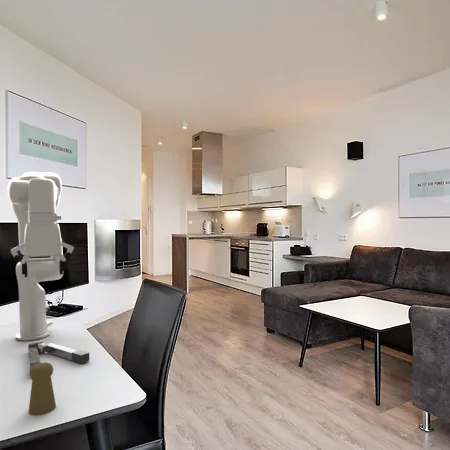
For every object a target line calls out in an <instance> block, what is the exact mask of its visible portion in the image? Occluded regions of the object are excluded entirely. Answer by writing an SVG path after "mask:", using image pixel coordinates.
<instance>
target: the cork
mask: <svg viewBox="0 0 450 450" xmlns="http://www.w3.org/2000/svg"><path fill="white" fill-rule="evenodd" d="M53 372H54V367H53V365H52V363H50V362H47V361H46V362H45V361H43V362H41V363H38V364H36V365H34V366H32V368H31V369H30V368H29V378H30V379H31V380H32V381H31V388H30V395H29V397H30V398H29V403H28V414H30V415H31V416H42V415H45V414H49V413H51V412H52V411H54V410H55V408H56V407H57V405H56V398H55V393H54V387H53V382H52V381H53V380H52V376H53V374H54V373H53Z"/></svg>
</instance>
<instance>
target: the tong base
mask: <svg viewBox="0 0 450 450" xmlns="http://www.w3.org/2000/svg"><path fill="white" fill-rule="evenodd" d="M40 343H44V344H45V342H44V341H39V342H33V343H28V345H27V346H28V350H27V351H28V355H29V357H28V359H29V362H30V363H29V370H30V369H31V368H32V366H34V365H36V364H38V363H42V362H41V359H40V354H38V344H40Z"/></svg>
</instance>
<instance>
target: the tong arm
mask: <svg viewBox="0 0 450 450" xmlns="http://www.w3.org/2000/svg"><path fill="white" fill-rule="evenodd" d="M45 353H48V354H51V355H54V356H57V357H60V358H63V359H66V360H69V361H72V362H76V363H79V364H80V365H83V364H84V363H87V362H90V352H88V351H85V350H82V349H78V350H76V349H73V348H71V347H70V348H69V347H66V346H64V345H60V344H58V343H57V344H56V343H53V342H51V343H45V342H44V343H40V344H38V354H39V355H43V354H45Z"/></svg>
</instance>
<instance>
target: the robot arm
mask: <svg viewBox="0 0 450 450" xmlns="http://www.w3.org/2000/svg"><path fill="white" fill-rule="evenodd" d="M62 190H63V182H62V178H61V177H60V175H59V174H58V173H55V172H46V171H45V172H41V171H28V172H24V173H23V174H22V175H21V176H17V177H16V176H15V177H11V179H10V180H9V181H8V184H7V196H8V198H9V201H10V204H11V205H10V206H11V209H12V210H13V213H14V215H15V217H16V220H17V223H18V224H17V225H18V226H17V227H18V245H17V246H16V247H13V248H11V249H10V253H11V255H12V256H13V258H14V259H15V260H16V261H17V264H16V266H15V275H16V280H17V285H18V302H19V303H18V304H19V307H18V308H19V310H18V311H19V332H18V333H16V335H15V340H17V341H27V342H28V341H36V340H40V339H44V338H46V337H48V336H50V335H51V330H50V329H48V328H49V327H50V326H53V321H52V320H49V321H47V309H46V308H47V306H46V305H47V304H46V303H47V302H46V301H47V300H46V291H45V289H44V288H43V287H42V286H41V285H40V284H39V283H40V282H41V283H42V282H48V281H56V280H60V279H62V278H63V276H64V272H66V264H65V263H66V260H67V259H68V258H69V257H70V256H71V254H72V253H73V251H74V249H75V247H74V245H70V244H68V243H65V242H64V241H63V240H62V236H61V235H62V234H61V230H60V225H59V223H57V221H61V220H62V215H58V214H57V212H56V211H57V210H56V209H58V207H59V205H60V200H61V195H62ZM63 248H65V249H67V251H66V253H63ZM18 251H19V252H20V254H22V255H23V257H21V256H20V255H19V254H18ZM38 257H39V258H38ZM40 257H41V258H40Z"/></svg>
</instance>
